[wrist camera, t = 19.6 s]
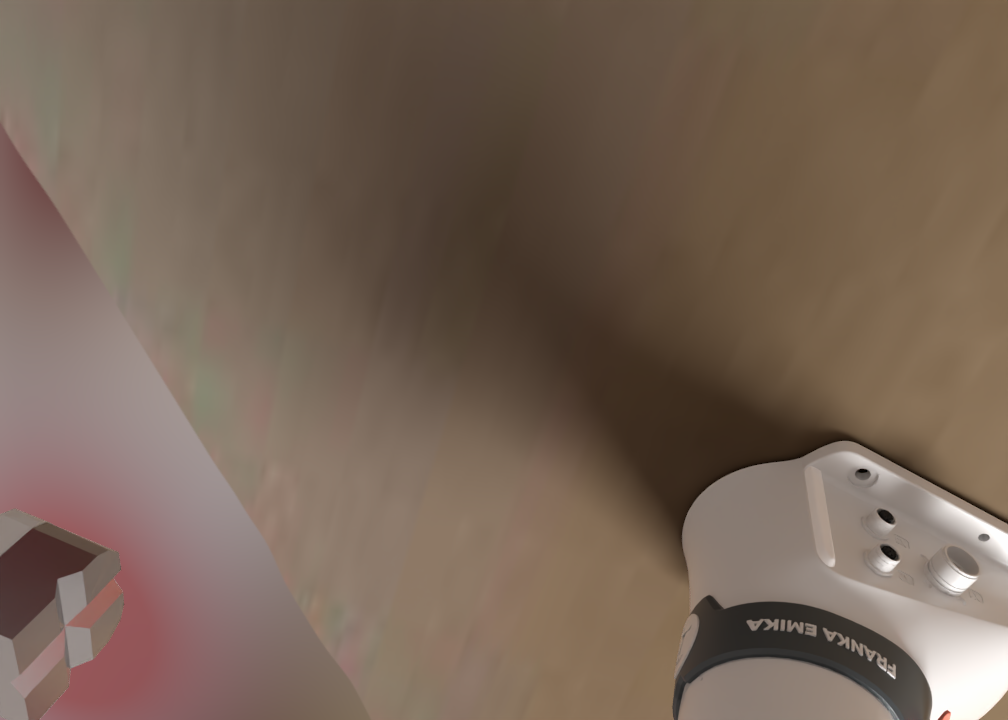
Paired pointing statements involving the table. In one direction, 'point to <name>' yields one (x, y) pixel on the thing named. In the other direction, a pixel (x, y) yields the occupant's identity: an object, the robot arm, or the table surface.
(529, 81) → the table surface
